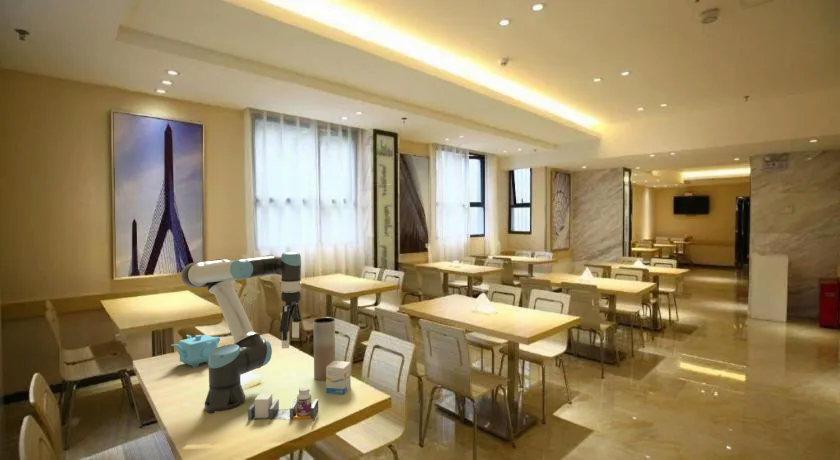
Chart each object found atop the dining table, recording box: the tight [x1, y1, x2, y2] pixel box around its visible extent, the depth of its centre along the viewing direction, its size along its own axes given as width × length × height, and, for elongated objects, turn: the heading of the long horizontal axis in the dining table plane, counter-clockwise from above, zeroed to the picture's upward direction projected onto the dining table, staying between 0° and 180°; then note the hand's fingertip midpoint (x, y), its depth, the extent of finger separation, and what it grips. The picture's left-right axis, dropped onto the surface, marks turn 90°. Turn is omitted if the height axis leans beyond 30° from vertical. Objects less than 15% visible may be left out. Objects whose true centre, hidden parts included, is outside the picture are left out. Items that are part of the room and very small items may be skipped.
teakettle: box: [171, 334, 221, 368], centre depth 221 cm, size 19×19×15 cm
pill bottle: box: [296, 386, 312, 416], centre depth 162 cm, size 5×5×10 cm
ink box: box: [325, 360, 352, 395], centre depth 186 cm, size 9×8×12 cm
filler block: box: [254, 393, 273, 418], centre depth 161 cm, size 5×5×7 cm
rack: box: [247, 398, 319, 422], centre depth 162 cm, size 24×8×5 cm, turn 92°
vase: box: [312, 316, 336, 382], centre depth 200 cm, size 10×10×28 cm
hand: (290, 342), depth 171 cm, fingers open, 13 cm apart
